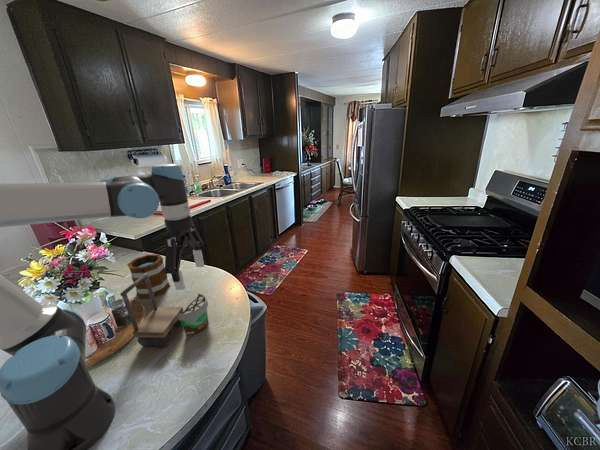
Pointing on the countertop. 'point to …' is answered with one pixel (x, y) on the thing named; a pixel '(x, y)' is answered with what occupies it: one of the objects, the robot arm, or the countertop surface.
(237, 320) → the countertop surface
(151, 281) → the mug
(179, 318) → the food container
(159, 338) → the trolley
